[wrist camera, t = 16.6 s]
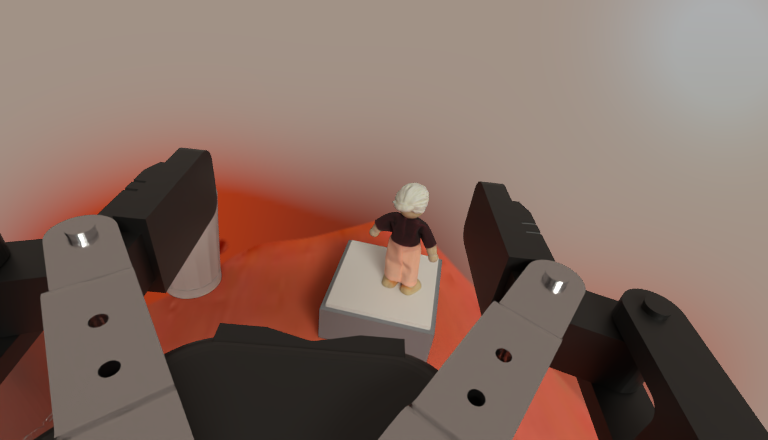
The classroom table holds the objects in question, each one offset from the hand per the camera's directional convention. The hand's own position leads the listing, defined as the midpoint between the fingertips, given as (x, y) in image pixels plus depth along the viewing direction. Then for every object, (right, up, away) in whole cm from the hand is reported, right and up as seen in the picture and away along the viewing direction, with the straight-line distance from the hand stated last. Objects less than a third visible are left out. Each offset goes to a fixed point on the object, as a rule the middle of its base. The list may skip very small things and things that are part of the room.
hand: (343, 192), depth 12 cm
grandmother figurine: (+3, -8, +33) cm, 34 cm away
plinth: (+1, -12, +36) cm, 38 cm away
